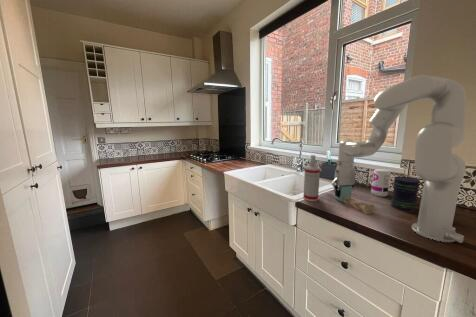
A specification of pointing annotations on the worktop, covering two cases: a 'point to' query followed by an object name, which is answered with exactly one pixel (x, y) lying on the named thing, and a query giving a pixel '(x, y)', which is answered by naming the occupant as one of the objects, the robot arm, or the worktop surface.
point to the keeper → (344, 192)
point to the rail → (358, 205)
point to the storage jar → (405, 193)
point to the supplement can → (380, 182)
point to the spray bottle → (311, 180)
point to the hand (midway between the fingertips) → (342, 195)
